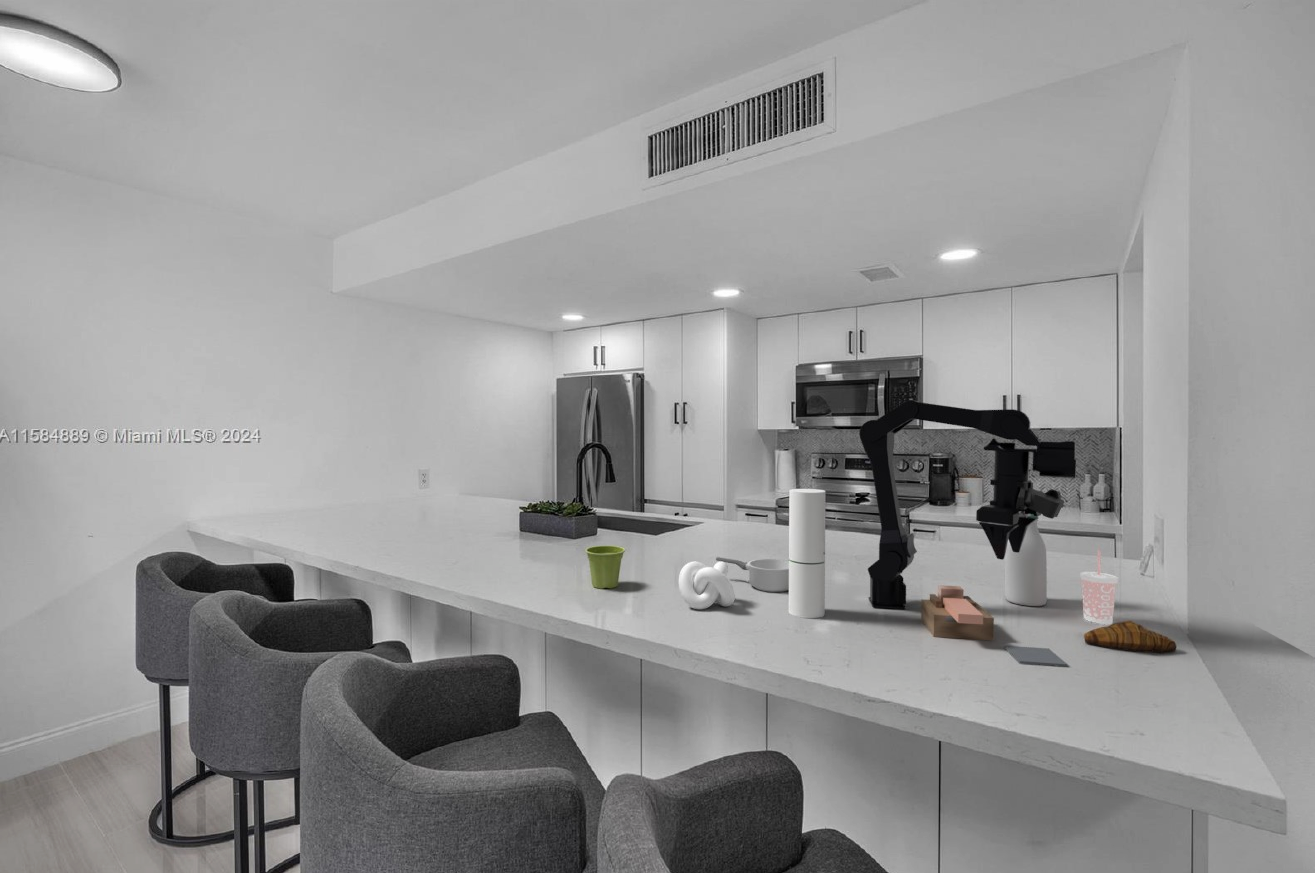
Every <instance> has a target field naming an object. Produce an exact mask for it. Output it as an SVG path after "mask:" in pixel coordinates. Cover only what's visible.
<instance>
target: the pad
mask: <svg viewBox="0 0 1315 873" xmlns="http://www.w3.org/2000/svg"><path fill="white" fill-rule="evenodd" d="M1004 648H1005V649H1006V650H1007V651H1009V653H1008V654H1009V655H1011V657H1013V659H1014V660H1015V661H1017V663H1019V664H1020V663H1024V665H1034V664H1038V665H1039V664H1040V665H1039V666H1049V665H1058V666H1057V667H1063V666H1068V665H1069V664H1068V663H1067V662H1065V661H1064V660H1063V659H1062V658H1061V657H1060V656H1059V655H1057V654H1056V653H1054V652H1053V651H1052V650H1051V649H1050V648H1047V647H1034V646H1033V647H1032V646H1031V647H1029V646H1018V645H1017V646H1016V645H1003V649H1004ZM1005 649H1004V650H1005ZM1006 650H1005V651H1006ZM1007 651H1006V652H1007ZM1025 663H1026V664H1025Z"/></svg>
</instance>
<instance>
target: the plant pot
mask: <svg viewBox="0 0 1315 873" xmlns="http://www.w3.org/2000/svg"><path fill="white" fill-rule="evenodd" d="M625 551H626V549H625V548H624V547H622V546H617V545H594V546H590V547H587V548H586V549H585V553H586V556H587V559H588V561H589V571H590V578H591V585H592V587H594V588H596V589H602V590H603V589H605V588H608V589H614V588H616V587H618V585H619V580H620V571H621V563H622V559H623V556H624V553H625Z"/></svg>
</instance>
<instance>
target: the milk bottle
mask: <svg viewBox="0 0 1315 873" xmlns="http://www.w3.org/2000/svg"><path fill="white" fill-rule="evenodd" d="M1030 516H1031V517H1038V519H1037V520H1036V521H1034V522H1033V523H1031V524H1030V525H1029V526H1028V528H1027V531H1026V534H1025V537H1024V540H1023V543H1022V546H1021V549H1020V552H1018V553H1017V552H1013V551H1012V548H1011V545H1010V542H1009V539H1008V544H1007V548H1006V553H1005V557H1004V559H1005V560H1004V595H1005V596H1004V598H1005V600H1006V601H1007V602H1010V603H1012V604H1016V605H1021V606H1027V607H1042V606H1045V605H1046V603H1047V599H1048V598H1047V593H1048V590H1047V583H1048V581H1047V578H1048V577H1047V570H1048V569H1047V549H1046V544H1045V542H1044V539H1043V538H1042V535H1041V533H1040V531H1039V528H1038V521H1039V516H1034V514H1031V515H1030Z"/></svg>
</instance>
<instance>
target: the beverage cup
mask: <svg viewBox="0 0 1315 873" xmlns="http://www.w3.org/2000/svg"><path fill="white" fill-rule="evenodd" d="M1101 550H1102V549H1097V558H1096V559H1097V565H1096V566H1097V570H1096V571H1082V572H1079V578H1080V579H1081V591H1082V595H1081V596H1082V609H1083V619H1084V618H1085V619H1086V620H1088V621H1092V622H1096V623H1100V624H1099V625H1104V624H1105V626H1106V625H1108V626H1109V625H1112V624H1113V621H1114V620H1113V619H1114V610H1115V601H1116V600H1115V599H1116V588H1117V583H1118V582H1119V581H1118V580H1119V577H1118V576H1116V575H1114V574H1111V573H1110V574H1109V573H1106V572H1105V573H1104V572H1101V555H1102V553H1101ZM1086 620H1085V621H1086ZM1088 621H1087V622H1088ZM1096 623H1095V624H1096Z"/></svg>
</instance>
